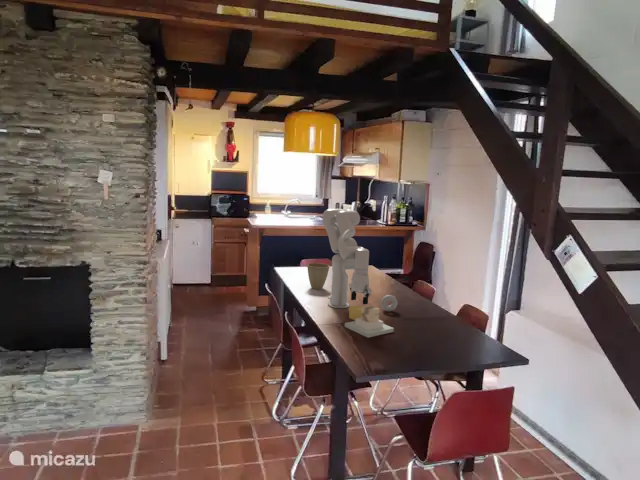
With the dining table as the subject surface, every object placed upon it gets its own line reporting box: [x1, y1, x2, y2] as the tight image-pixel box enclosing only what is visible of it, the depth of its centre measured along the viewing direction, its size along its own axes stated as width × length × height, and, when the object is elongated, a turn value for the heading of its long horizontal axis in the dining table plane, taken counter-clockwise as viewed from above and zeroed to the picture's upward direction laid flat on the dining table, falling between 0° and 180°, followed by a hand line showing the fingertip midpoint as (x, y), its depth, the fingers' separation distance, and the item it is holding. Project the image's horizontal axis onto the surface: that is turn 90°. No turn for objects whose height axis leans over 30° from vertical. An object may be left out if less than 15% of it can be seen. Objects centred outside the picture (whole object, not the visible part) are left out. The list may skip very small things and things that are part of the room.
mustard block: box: [348, 304, 363, 321], centre depth 267 cm, size 6×6×6 cm
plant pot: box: [307, 262, 330, 290], centre depth 326 cm, size 15×15×16 cm
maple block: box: [361, 304, 380, 323], centre depth 251 cm, size 6×6×6 cm
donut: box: [380, 294, 398, 312], centre depth 284 cm, size 10×4×10 cm, turn 98°
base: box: [344, 318, 395, 338], centre depth 251 cm, size 18×18×5 cm
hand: (359, 301), depth 265 cm, fingers open, 9 cm apart
